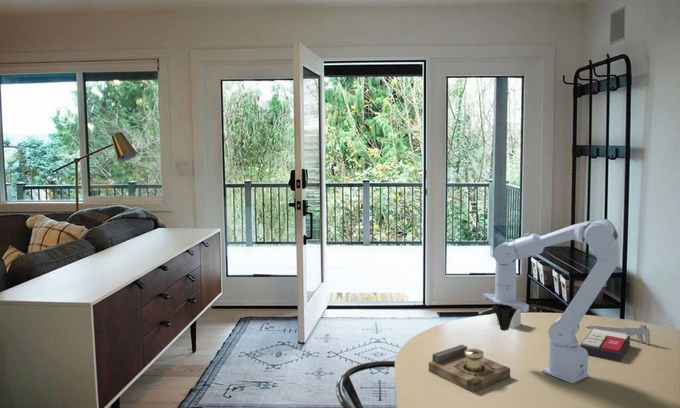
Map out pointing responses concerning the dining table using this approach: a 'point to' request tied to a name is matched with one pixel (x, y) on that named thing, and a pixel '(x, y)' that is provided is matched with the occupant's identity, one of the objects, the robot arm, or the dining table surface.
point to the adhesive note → (514, 319)
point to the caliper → (626, 331)
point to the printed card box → (606, 344)
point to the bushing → (473, 360)
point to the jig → (454, 370)
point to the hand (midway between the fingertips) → (504, 329)
